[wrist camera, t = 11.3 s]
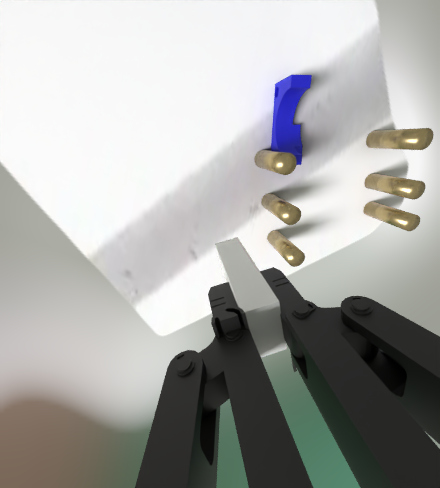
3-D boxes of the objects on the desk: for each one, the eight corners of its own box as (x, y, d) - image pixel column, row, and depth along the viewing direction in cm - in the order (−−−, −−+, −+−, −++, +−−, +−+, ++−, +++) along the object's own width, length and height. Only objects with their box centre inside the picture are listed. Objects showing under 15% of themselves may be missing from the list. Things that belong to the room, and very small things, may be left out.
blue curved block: (292, 161, 43) (309, 164, 38) (269, 162, 43) (283, 165, 37) (300, 84, 38) (321, 75, 33) (274, 84, 38) (291, 74, 32)
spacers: (253, 152, 41) (275, 155, 32) (381, 117, 43) (437, 110, 34) (268, 245, 50) (289, 268, 41) (375, 212, 51) (418, 228, 42)
